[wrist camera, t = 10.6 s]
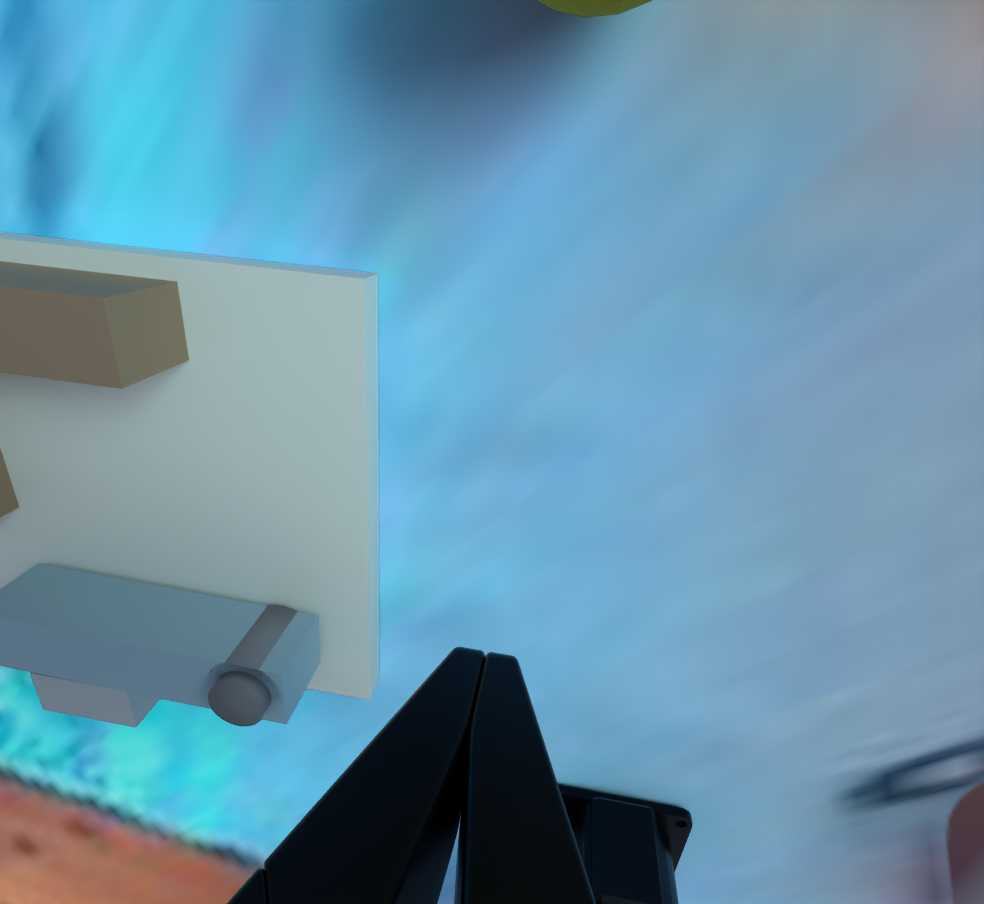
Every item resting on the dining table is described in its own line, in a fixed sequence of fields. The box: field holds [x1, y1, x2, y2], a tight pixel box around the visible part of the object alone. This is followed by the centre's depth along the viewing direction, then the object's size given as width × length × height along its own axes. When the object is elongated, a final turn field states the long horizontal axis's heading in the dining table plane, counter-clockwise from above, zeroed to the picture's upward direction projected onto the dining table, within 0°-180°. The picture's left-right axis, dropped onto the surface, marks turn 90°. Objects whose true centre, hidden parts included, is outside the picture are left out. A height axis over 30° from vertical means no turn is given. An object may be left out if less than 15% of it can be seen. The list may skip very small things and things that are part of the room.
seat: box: [0, 232, 379, 727], centre depth 20 cm, size 18×17×4 cm
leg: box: [0, 563, 321, 726], centre depth 21 cm, size 12×3×4 cm, turn 84°
